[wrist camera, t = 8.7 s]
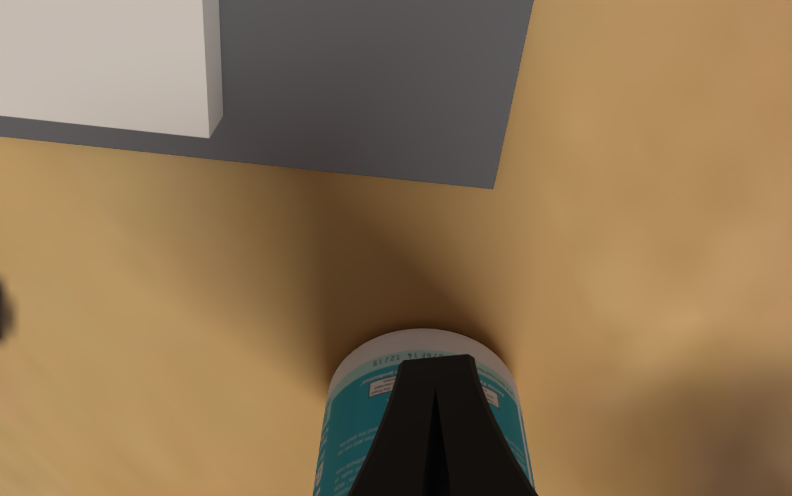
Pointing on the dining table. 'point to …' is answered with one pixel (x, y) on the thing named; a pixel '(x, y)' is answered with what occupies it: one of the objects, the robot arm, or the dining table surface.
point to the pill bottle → (370, 391)
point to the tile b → (113, 63)
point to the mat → (350, 89)
